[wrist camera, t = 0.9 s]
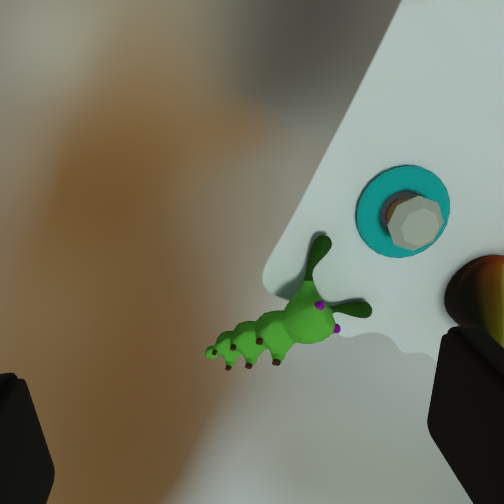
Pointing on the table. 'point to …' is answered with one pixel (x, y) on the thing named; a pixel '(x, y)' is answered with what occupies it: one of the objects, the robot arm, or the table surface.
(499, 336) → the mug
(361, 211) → the ornament
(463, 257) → the table surface
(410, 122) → the table surface
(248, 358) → the toy
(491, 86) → the table surface
